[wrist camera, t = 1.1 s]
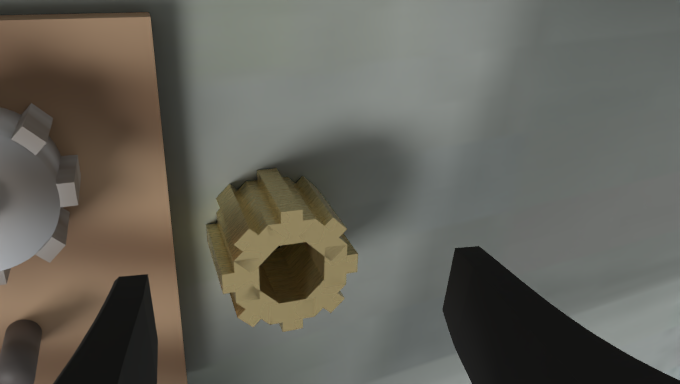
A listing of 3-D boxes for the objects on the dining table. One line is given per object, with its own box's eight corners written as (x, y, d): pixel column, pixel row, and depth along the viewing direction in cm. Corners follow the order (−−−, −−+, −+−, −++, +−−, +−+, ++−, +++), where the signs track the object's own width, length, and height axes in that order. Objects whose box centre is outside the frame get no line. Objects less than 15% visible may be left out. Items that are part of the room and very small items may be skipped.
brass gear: (324, 267, 31) (355, 318, 27) (210, 285, 29) (226, 342, 26) (326, 162, 29) (360, 202, 25) (202, 175, 27) (218, 220, 23)
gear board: (185, 374, 31) (196, 442, 27) (-113, 435, 27) (-150, 525, 23) (148, 12, 24) (156, 32, 20) (-271, 21, 20) (-366, 49, 16)
